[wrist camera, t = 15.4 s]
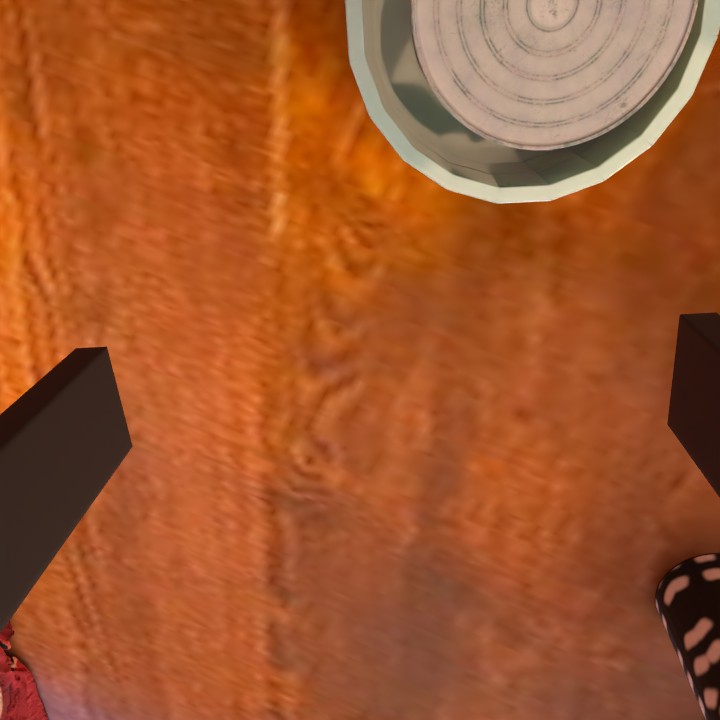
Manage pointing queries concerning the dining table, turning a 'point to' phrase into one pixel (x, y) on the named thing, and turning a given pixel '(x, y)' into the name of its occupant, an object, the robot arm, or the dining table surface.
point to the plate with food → (17, 686)
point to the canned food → (547, 63)
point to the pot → (479, 155)
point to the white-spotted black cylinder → (695, 625)
